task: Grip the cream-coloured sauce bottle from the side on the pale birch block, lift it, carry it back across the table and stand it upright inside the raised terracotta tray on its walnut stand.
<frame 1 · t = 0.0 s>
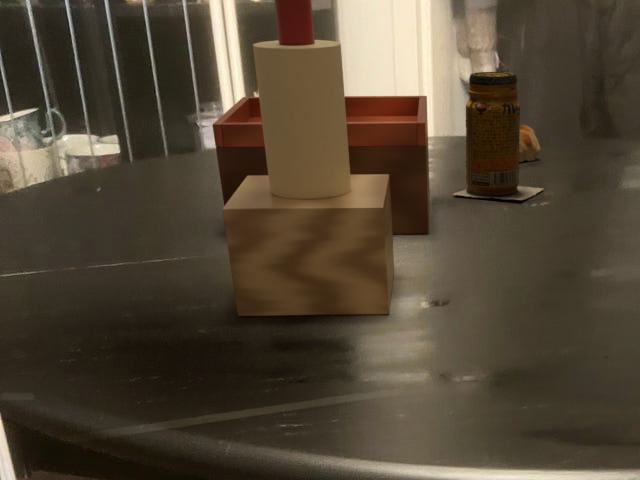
sauce bottle: (311, 190, 78), point 8 cm above the table, touching birch block
pastry: (506, 161, 129), on the table
condiment: (498, 195, 113), on the table
tray stand: (336, 213, 105), on the table
birch block: (320, 292, 82), on the table
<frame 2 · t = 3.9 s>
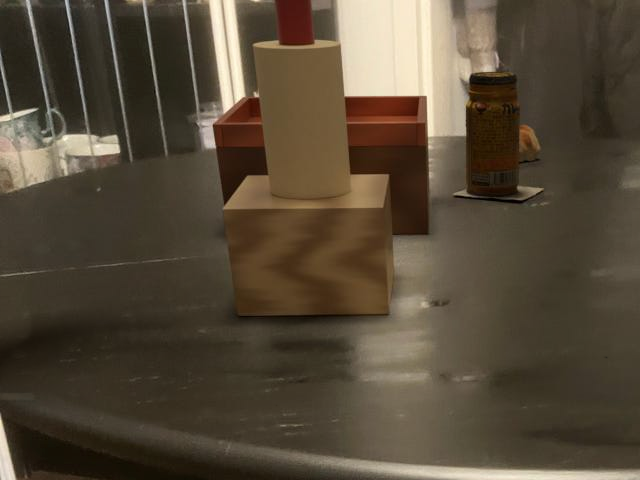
nothing on the table moved.
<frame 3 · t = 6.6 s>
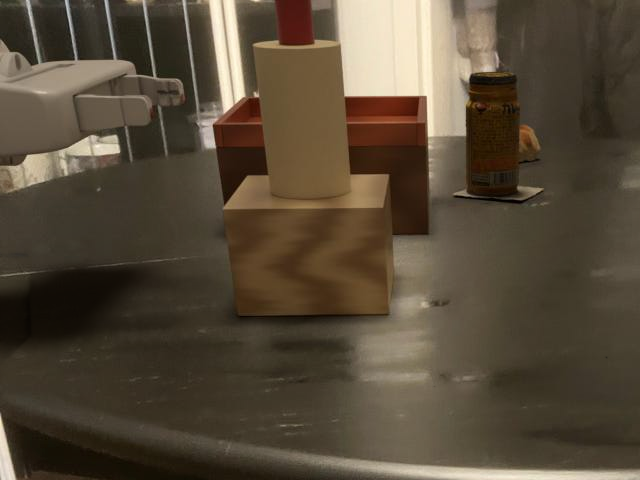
hand: (167, 101, 73), 14 cm above the table, tool horizontal, fingers open, 8 cm apart
nothing on the table moved.
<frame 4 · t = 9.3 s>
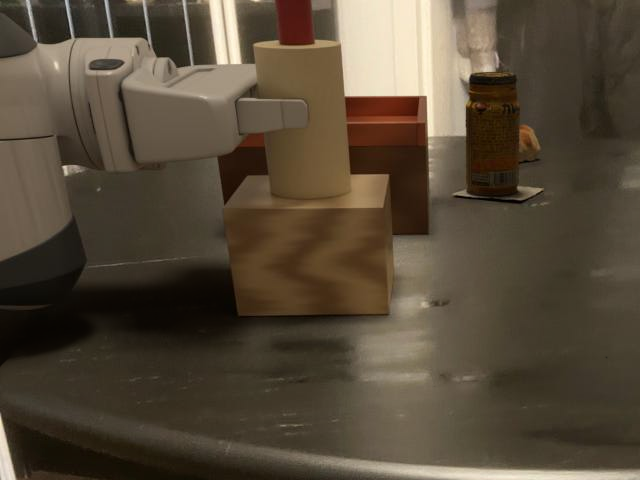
hand: (314, 105, 74), 14 cm above the table, tool horizontal, fingers closed on sauce bottle, 6 cm apart
sauce bottle: (311, 190, 78), point 8 cm above the table, touching birch block, gripper
everything else where it was.
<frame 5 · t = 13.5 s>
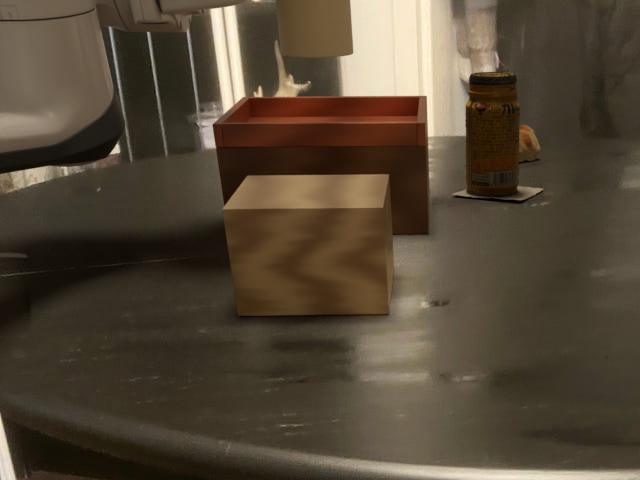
sauce bottle: (317, 53, 87), point 16 cm above the table, touching gripper
everything else where it was.
when the fingers open (14 cm above the table, at t = 17.6 s): sauce bottle stays where it is, resting on tray stand.
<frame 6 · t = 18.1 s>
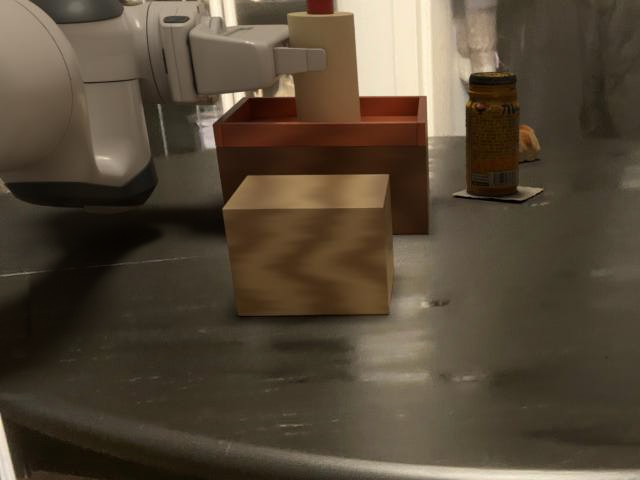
hand: (332, 54, 96), 15 cm above the table, tool horizontal, fingers open, 8 cm apart
sauce bottle: (330, 129, 100), point 8 cm above the table, touching tray stand
everything else where it was.
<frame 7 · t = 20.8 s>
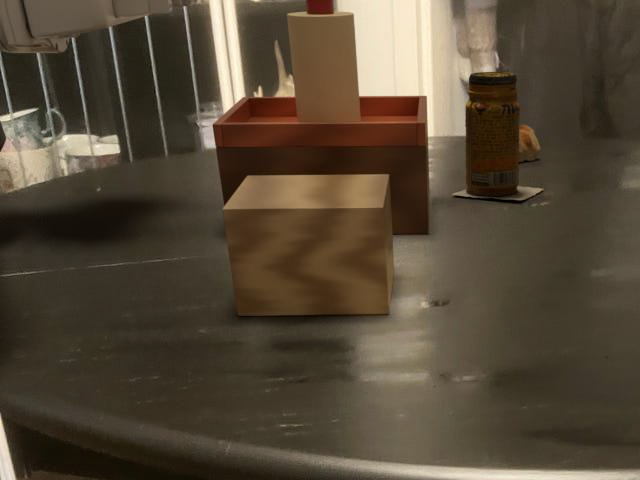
nothing on the table moved.
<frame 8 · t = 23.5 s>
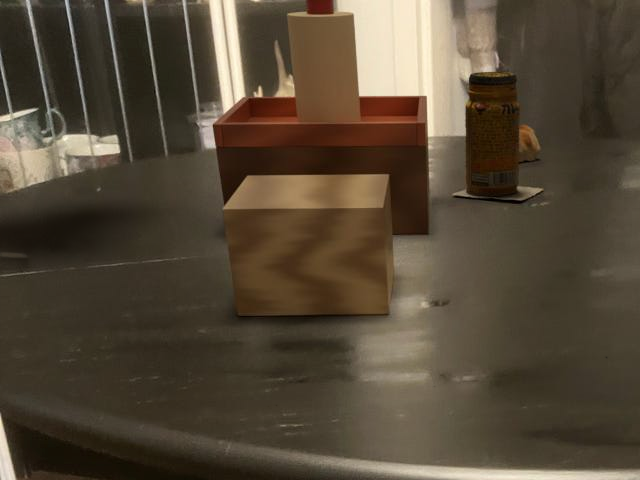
nothing on the table moved.
at the end: sauce bottle inside the target area on the tray stand (0.1 cm from its centre), point 8.1 cm above the tray stand's base; sauce bottle tilted 0°; the gripper is holding nothing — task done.
